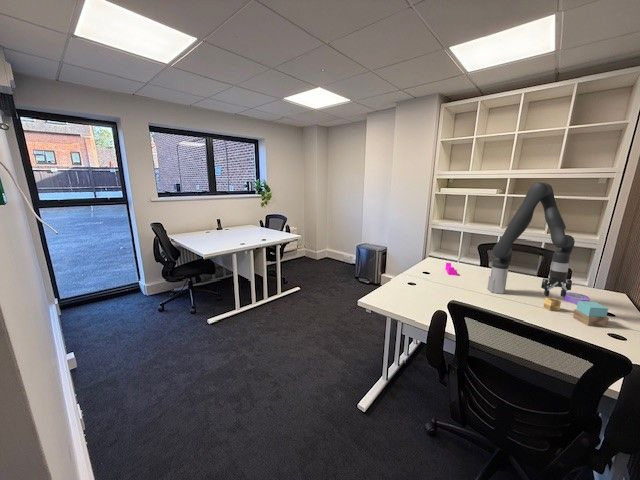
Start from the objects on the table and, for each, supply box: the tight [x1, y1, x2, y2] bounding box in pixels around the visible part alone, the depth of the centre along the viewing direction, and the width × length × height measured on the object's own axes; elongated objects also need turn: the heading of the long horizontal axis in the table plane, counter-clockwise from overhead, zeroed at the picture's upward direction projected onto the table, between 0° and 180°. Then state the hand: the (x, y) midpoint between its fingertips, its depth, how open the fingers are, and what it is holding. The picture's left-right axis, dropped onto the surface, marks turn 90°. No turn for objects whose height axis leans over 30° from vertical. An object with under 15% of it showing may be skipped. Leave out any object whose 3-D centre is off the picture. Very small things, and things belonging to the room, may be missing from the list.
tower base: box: [572, 308, 610, 328], centre depth 139 cm, size 9×9×5 cm
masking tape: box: [563, 291, 591, 305], centre depth 165 cm, size 12×12×4 cm
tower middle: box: [575, 301, 609, 318], centre depth 139 cm, size 8×8×5 cm
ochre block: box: [543, 297, 561, 312], centre depth 154 cm, size 5×5×6 cm
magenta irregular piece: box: [445, 262, 458, 276], centre depth 217 cm, size 15×6×8 cm, turn 163°
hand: (554, 296), depth 153 cm, fingers open, 8 cm apart
